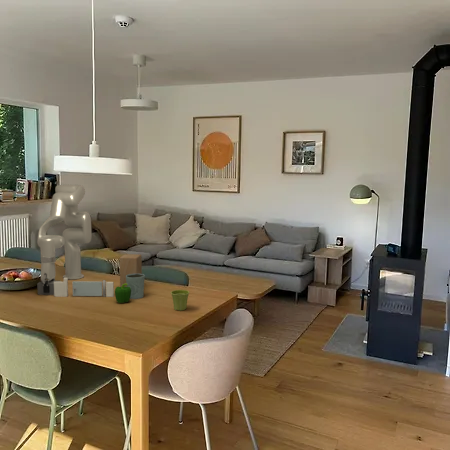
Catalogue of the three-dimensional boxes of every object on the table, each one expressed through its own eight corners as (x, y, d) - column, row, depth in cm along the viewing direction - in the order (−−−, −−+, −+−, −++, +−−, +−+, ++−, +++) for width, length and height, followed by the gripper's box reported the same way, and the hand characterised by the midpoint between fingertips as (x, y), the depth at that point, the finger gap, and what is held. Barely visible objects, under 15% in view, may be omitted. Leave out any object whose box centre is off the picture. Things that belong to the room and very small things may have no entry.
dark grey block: (44, 291, 254) (43, 280, 253) (61, 292, 253) (60, 280, 252) (37, 294, 247) (37, 283, 246) (55, 295, 246) (54, 283, 245)
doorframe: (55, 295, 245) (54, 277, 243) (113, 296, 245) (113, 278, 244) (54, 296, 243) (53, 278, 242) (113, 296, 244) (112, 279, 242)
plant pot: (168, 307, 227) (168, 290, 226) (186, 305, 231) (186, 288, 229) (173, 312, 218) (173, 295, 217) (191, 310, 222) (191, 293, 221)
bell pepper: (111, 303, 233) (110, 284, 232) (121, 298, 240) (120, 280, 239) (124, 305, 229) (123, 286, 228) (134, 301, 237) (133, 282, 235)
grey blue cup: (126, 299, 239) (125, 277, 237) (126, 294, 249) (125, 273, 247) (145, 298, 241) (145, 277, 239) (144, 293, 251) (144, 272, 249)
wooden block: (142, 287, 263) (141, 254, 260) (137, 292, 253) (136, 257, 251) (125, 287, 264) (125, 253, 261) (120, 291, 254) (119, 257, 252)
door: (102, 295, 245) (102, 281, 244) (101, 296, 242) (100, 282, 241) (73, 295, 244) (73, 281, 243) (71, 296, 242) (71, 282, 241)
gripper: (47, 256, 256) (48, 286, 258) (35, 262, 238) (36, 294, 241) (60, 256, 256) (61, 286, 258) (49, 263, 239) (50, 295, 241)
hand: (49, 290), depth 249 cm, fingers open, 7 cm apart
